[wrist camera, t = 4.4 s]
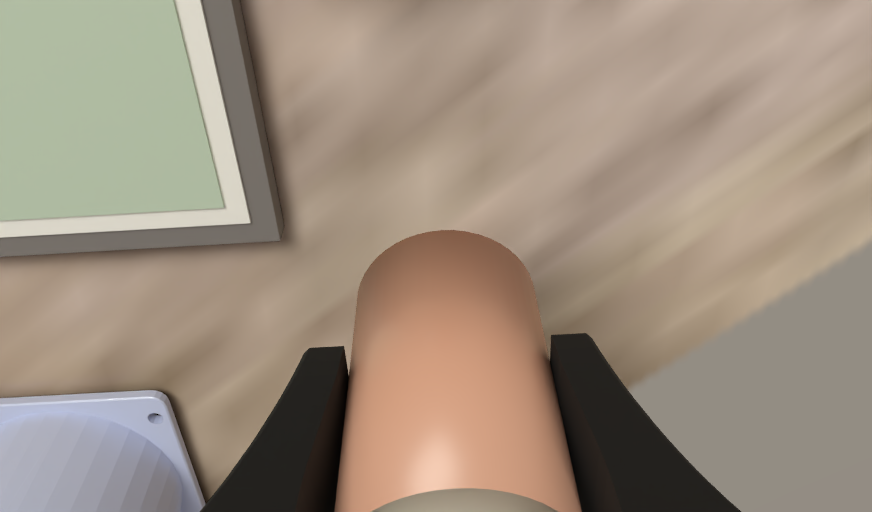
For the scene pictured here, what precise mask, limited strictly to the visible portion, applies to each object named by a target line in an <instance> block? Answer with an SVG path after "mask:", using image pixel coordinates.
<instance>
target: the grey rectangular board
mask: <svg viewBox="0 0 872 512" xmlns="http://www.w3.org/2000/svg"><path fill="white" fill-rule="evenodd" d="M283 229H284V222H283V217H282V212H281V207H280V202H279V197H278V192H277V187H276V182H275V176H274V171H273V166H272V161H271V156H270V151H269V146H268V141H267V136H266V131H265V126H264V121H263V116H262V110H261V105H260V100H259V95H258V90H257V85H256V80H255V75H254V70H253V65H252V60H251V55H250V50H249V45H248V39H247V34H246V29H245V24H244V19H243V14H242V9H241V4H240V0H0V257H6V256H23V255H41V254H58V253H76V252H93V251H111V250H128V249H146V248H163V247H180V246H198V245H215V244H233V243H250V242H268V241H280V240H281V236H282V232H283Z"/></svg>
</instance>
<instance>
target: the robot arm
mask: <svg viewBox="0 0 872 512" xmlns="http://www.w3.org/2000/svg"><path fill="white" fill-rule="evenodd" d="M550 365H551V370H552V375H553V379H554V384H555V389H556V393H557V398H558V403H559V407H560V412H561V417H562V421H563V426H564V430H565V435H566V440H567V444H568V449H569V454H570V458H571V463H572V468H573V472H574V477H575V482H576V486H577V491H578V496H579V500H580V505H581V510H582V512H741V511H740V510H739V509H738V508H736V507H735V506H734V505H733V504H732V503H731V502H730V501H728V500H727V499H726V498H725V497H724V496H723V495H722V494H721V493H720V492H719V491H718V490H717V489H716V488H715V487H714V486H712V485H711V484H710V483H709V482H708V481H707V480H706V479H705V478H704V477H703V476H702V475H701V474H700V473H699V472H698V471H697V470H696V469H695V468H694V467H693V466H692V465H691V464H690V463H689V461H688V460H687V459H686V458H685V457H684V456H683V455H682V454H681V453H680V452H679V451H678V450H677V449H676V447H674V445H673V444H672V443H671V442H670V441H669V440H668V439H667V438H666V436H665V435H664V434H663V433H662V432H661V431H660V429H659V428H658V427H657V426H656V425H655V424H654V423H653V421H652V420H651V419H650V417H649V416H648V415H647V414H646V413H645V411H644V410H643V409H642V408H641V406H640V405H639V404H638V403H637V402H636V400H635V399H634V398H633V396H632V395H631V394H630V393H629V391H628V390H627V389H626V387H625V386H624V385H623V383H622V382H621V380H620V379H619V378H618V376H617V375H616V374H615V372H614V371H613V369H612V368H611V367H610V365H609V364H608V362H607V361H606V359H605V358H604V356H603V355H602V353H601V352H600V350H599V349H598V347H597V346H596V344H595V342H594V341H593V339H592V338H591V337H590V336H589V335H588V334H586V333H582V334H563V335H551V352H550ZM348 381H349V375H348V369H347V362H346V356H345V350H344V346H338V347H319V348H309V349H308V350H307V351H306V352H305V353H304V355H303V357H302V359H301V361H300V363H299V365H298V367H297V368H296V370H295V372H294V374H293V376H292V378H291V380H290V382H289V383H288V385H287V387H286V389H285V390H284V392H283V394H282V396H281V397H280V399H279V401H278V402H277V404H276V406H275V407H274V409H273V411H272V412H271V414H270V415H269V417H268V418H267V420H266V422H265V423H264V425H263V426H262V428H261V429H260V431H259V433H258V434H257V436H256V437H255V439H254V440H253V442H252V443H251V445H250V446H249V448H248V449H247V450H246V452H245V453H244V454H243V456H242V457H241V459H240V460H239V461H238V463H237V464H236V466H235V467H234V468H233V470H232V471H231V473H230V474H229V475H228V477H227V478H226V479H225V481H224V482H223V483H222V485H221V486H220V487H219V488H218V490H217V491H216V492H215V493H214V495H213V496H212V497H211V498H210V500H209V501H208V502H207V503H206V504H205V501H204V498H203V495H202V492H201V489H200V487H199V484H198V481H197V478H196V475H195V472H194V469H193V467H192V464H191V461H190V458H189V455H188V452H187V450H186V447H185V444H184V441H183V438H182V435H181V432H180V430H179V427H178V424H177V421H176V418H175V415H174V412H173V410H172V407H171V404H170V401H169V399H168V397H167V396H166V395H165V394H163V393H162V392H159V391H156V390H143V391H125V392H106V393H88V394H70V395H51V396H33V397H15V398H0V512H334V511H335V502H336V492H337V483H338V474H339V464H340V455H341V446H342V437H343V427H344V418H345V409H346V399H347V390H348ZM154 413H157V414H159V415H155V414H154ZM160 415H161V416H160Z"/></svg>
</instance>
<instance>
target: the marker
mask: <svg viewBox="0 0 872 512" xmlns="http://www.w3.org/2000/svg"><path fill="white" fill-rule="evenodd" d="M334 512H582V510H581V505H580V500H579V496H578V491H577V486H576V482H575V477H574V472H573V468H572V463H571V458H570V454H569V449H568V444H567V440H566V435H565V430H564V426H563V421H562V417H561V412H560V407H559V403H558V398H557V393H556V389H555V384H554V379H553V375H552V370H551V365H550V361H549V356H548V351H547V347H546V342H545V337H544V333H543V328H542V323H541V319H540V314H539V309H538V305H537V300H536V295H535V291H534V286H533V282H532V280H531V277H530V275H529V273H528V271H527V269H526V268H525V266H524V264H523V263H522V262H521V261H520V260H519V258H518V257H517V256H516V255H514V254H513V253H512V252H511V251H510V250H509V249H507V248H506V247H504V246H503V245H501V244H500V243H498V242H496V241H494V240H492V239H490V238H487V237H484V236H482V235H479V234H474V233H470V232H465V231H456V230H441V231H432V232H426V233H422V234H417V235H415V236H412V237H409V238H406V239H404V240H402V241H400V242H398V243H396V244H394V245H393V246H391V247H390V248H388V249H387V250H385V251H384V252H383V253H382V254H381V255H379V256H378V257H377V258H376V259H375V260H374V262H373V263H372V264H371V265H370V266H369V268H368V270H367V271H366V273H365V274H364V276H363V279H362V281H361V283H360V287H359V290H358V297H357V307H356V316H355V325H354V334H353V344H352V353H351V362H350V372H349V381H348V390H347V399H346V409H345V418H344V427H343V437H342V446H341V455H340V464H339V474H338V483H337V492H336V502H335V511H334Z"/></svg>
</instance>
